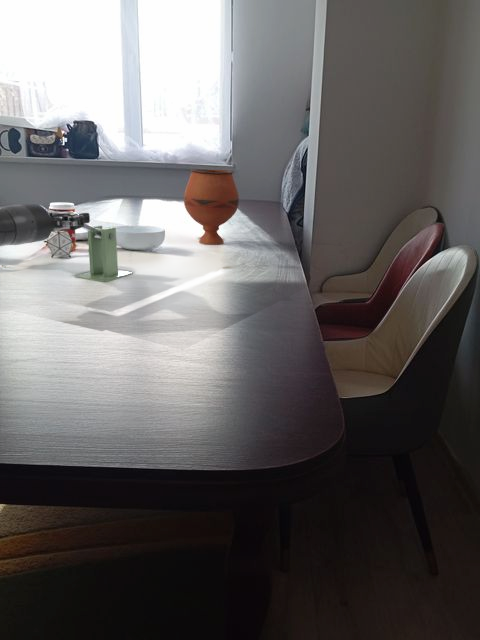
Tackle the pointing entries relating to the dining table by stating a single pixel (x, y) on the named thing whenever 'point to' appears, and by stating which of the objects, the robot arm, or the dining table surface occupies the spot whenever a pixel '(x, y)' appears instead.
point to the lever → (92, 229)
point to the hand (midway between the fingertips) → (80, 216)
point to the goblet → (211, 201)
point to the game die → (60, 243)
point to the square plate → (83, 234)
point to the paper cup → (63, 208)
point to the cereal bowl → (139, 237)
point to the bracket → (103, 257)
